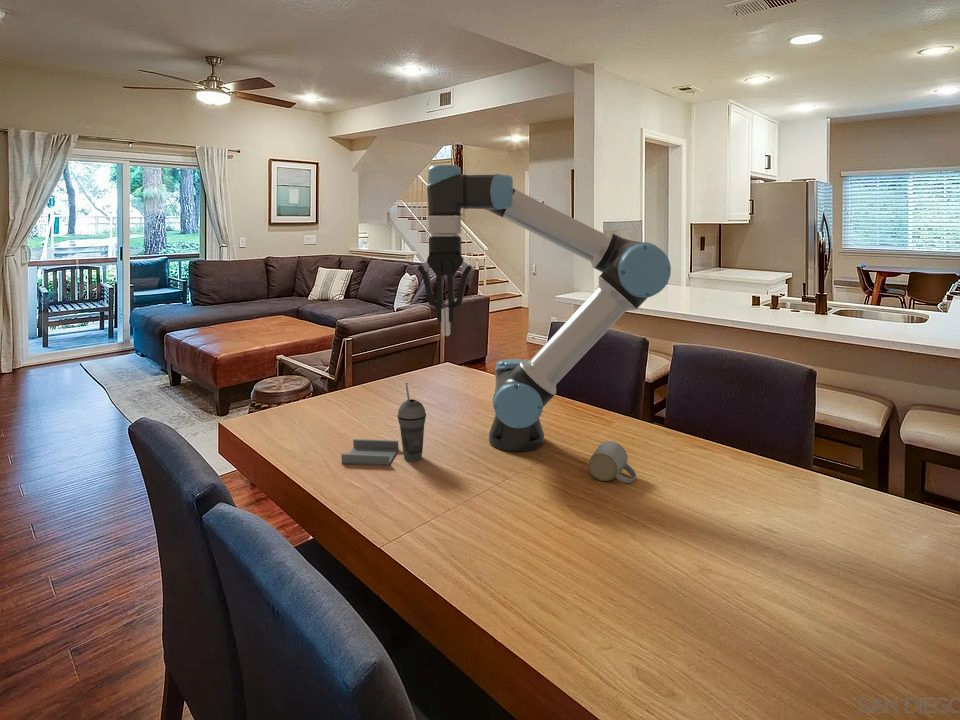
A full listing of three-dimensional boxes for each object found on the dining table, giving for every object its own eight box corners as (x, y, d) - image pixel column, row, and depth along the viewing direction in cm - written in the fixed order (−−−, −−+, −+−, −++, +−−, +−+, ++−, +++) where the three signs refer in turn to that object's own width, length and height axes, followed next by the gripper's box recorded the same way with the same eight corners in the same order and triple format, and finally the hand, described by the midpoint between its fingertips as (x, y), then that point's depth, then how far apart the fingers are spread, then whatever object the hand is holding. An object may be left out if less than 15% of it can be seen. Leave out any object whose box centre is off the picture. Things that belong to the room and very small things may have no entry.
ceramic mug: (585, 479, 138) (587, 449, 136) (596, 466, 145) (598, 437, 143) (630, 489, 133) (633, 458, 131) (639, 476, 140) (642, 446, 138)
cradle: (398, 449, 156) (398, 440, 155) (388, 465, 145) (388, 456, 145) (354, 447, 157) (354, 439, 156) (341, 463, 146) (341, 454, 146)
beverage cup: (422, 465, 146) (420, 388, 141) (394, 462, 147) (391, 386, 143) (430, 453, 153) (429, 380, 148) (403, 451, 154) (401, 378, 149)
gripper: (474, 234, 139) (474, 332, 145) (419, 234, 140) (422, 331, 146) (471, 235, 132) (471, 338, 137) (413, 235, 133) (415, 337, 139)
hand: (446, 334), depth 142 cm, fingers closed
